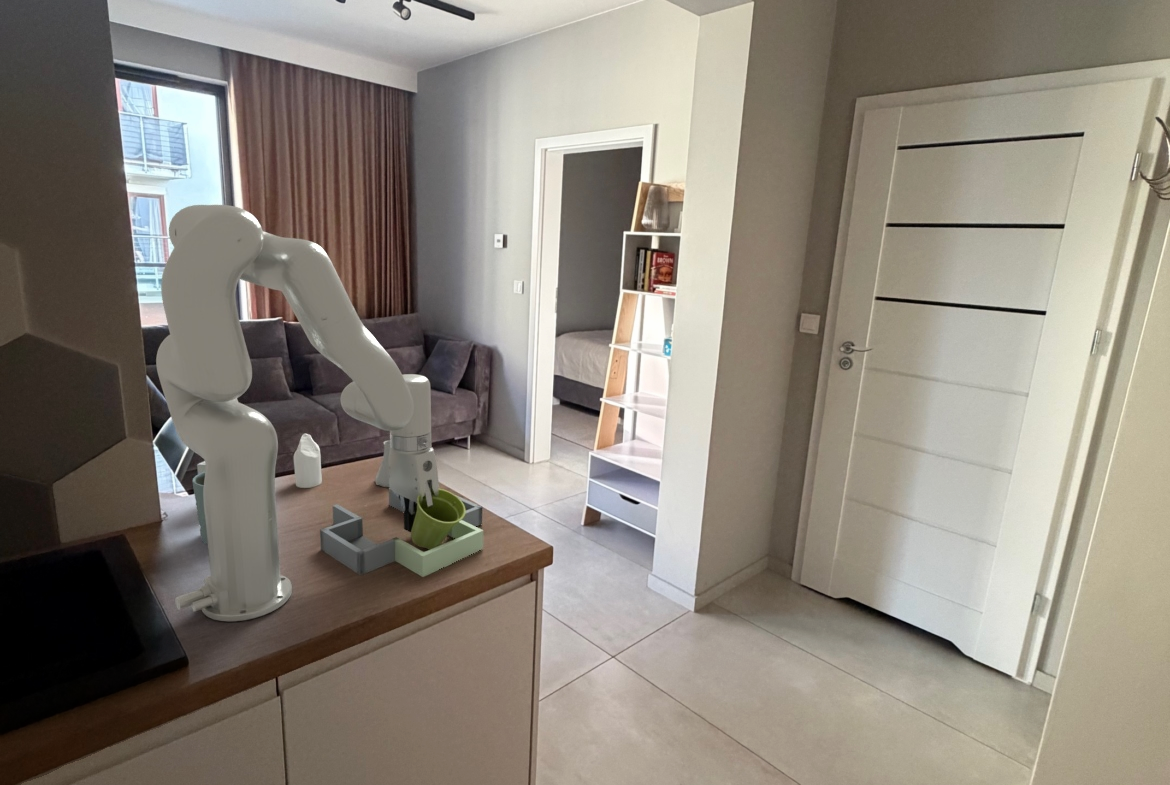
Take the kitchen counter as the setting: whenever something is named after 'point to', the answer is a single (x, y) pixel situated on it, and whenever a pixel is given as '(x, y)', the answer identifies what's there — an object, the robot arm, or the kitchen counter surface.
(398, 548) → the grey low walled frame
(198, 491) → the sage green cup
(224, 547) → the robot arm
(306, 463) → the white broken column
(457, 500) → the plant pot
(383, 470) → the flask
